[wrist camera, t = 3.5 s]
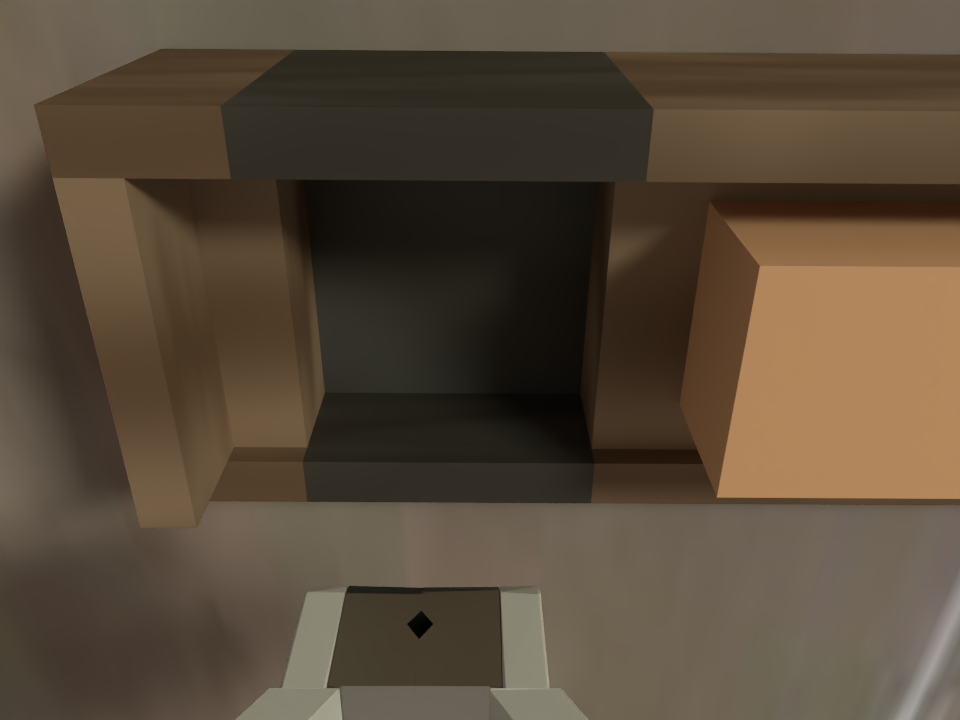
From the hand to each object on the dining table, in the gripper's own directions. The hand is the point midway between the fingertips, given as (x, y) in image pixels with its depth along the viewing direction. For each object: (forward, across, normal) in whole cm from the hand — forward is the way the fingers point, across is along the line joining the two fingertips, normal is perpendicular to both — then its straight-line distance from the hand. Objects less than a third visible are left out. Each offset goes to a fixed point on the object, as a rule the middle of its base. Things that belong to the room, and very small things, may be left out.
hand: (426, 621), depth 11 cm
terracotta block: (+9, -8, 0) cm, 12 cm away
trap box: (+12, -14, -1) cm, 18 cm away
